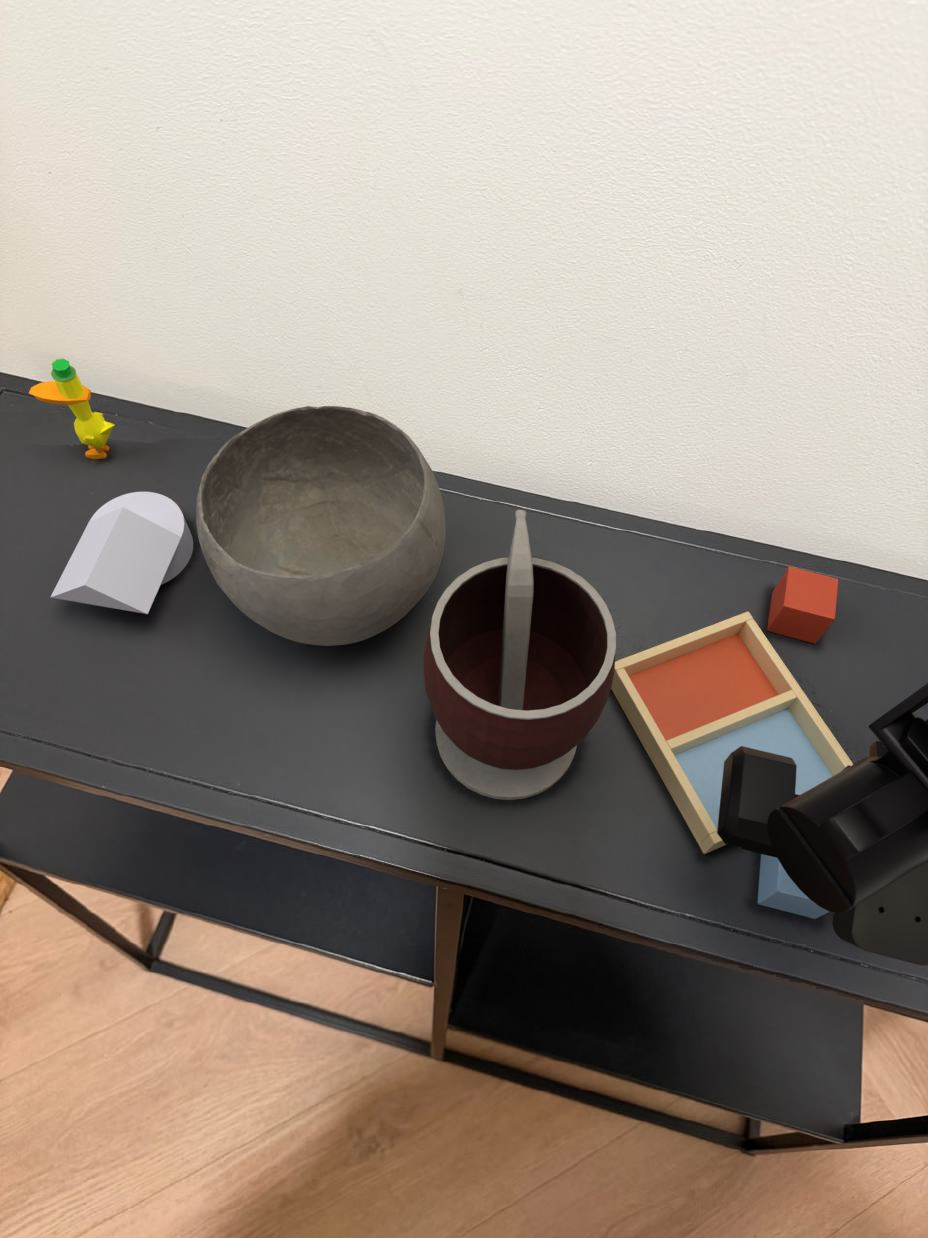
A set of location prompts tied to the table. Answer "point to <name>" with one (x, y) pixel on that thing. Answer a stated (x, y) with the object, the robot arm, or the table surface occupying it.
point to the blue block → (783, 890)
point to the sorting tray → (720, 715)
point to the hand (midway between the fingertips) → (820, 861)
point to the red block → (803, 605)
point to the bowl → (322, 524)
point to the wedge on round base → (127, 553)
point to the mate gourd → (517, 671)
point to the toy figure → (76, 407)
